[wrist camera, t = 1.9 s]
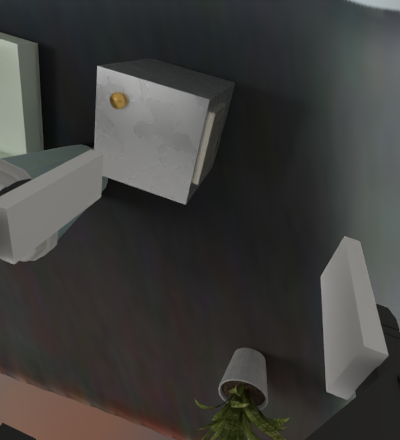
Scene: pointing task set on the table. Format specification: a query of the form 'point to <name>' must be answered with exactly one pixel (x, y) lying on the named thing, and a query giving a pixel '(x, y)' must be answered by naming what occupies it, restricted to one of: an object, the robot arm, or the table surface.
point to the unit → (159, 125)
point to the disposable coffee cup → (32, 168)
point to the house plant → (244, 400)
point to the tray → (19, 97)
